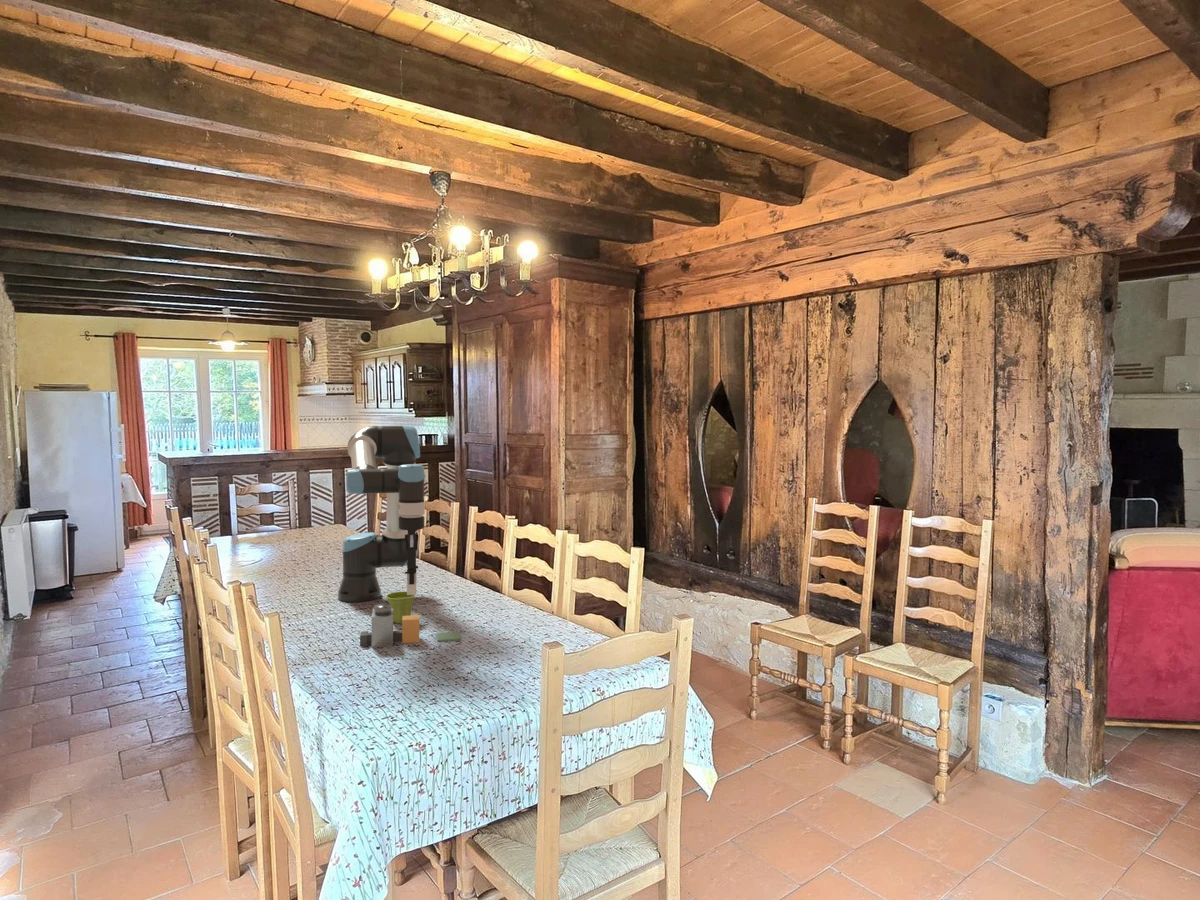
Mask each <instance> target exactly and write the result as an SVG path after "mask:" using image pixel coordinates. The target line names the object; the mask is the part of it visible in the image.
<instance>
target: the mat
mask: <svg viewBox="0 0 1200 900" xmlns="http://www.w3.org/2000/svg"><path fill="white" fill-rule="evenodd" d="M436 637H437V642H438V643H440V642H441V643H442V642H453V641H462V635H461V631H451V632H450V631H449V632H437V633H436Z"/></svg>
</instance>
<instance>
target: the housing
mask: <svg viewBox="0 0 1200 900" xmlns="http://www.w3.org/2000/svg"><path fill="white" fill-rule="evenodd" d="M393 631H394V622H393V608H391V604H389V603H379V604H375V605H374V606H373V608H372V614H371V633H372V644H371V648H385V647H393V646H394V643H393Z"/></svg>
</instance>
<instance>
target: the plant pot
mask: <svg viewBox="0 0 1200 900" xmlns="http://www.w3.org/2000/svg"><path fill="white" fill-rule="evenodd" d="M415 596H416V595H407V590H406V591H395V592H390V593H388V594H386V596H385V598H386V600H387V602H388V604H391V608H393V623H394V624H402V616H410V615H412V612H413V611H412V610H413V602H414V598H415Z"/></svg>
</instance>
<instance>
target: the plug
mask: <svg viewBox="0 0 1200 900" xmlns="http://www.w3.org/2000/svg"><path fill="white" fill-rule="evenodd" d="M394 643H402V644H410V643H413V644H414V643H420V614H413V615H412V614H411V615H410V616H402V623H401V630H393V644H394ZM368 645H372V632H369V630H367V631H360V635H359V647H360V646H362V647H363V646H368Z"/></svg>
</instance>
